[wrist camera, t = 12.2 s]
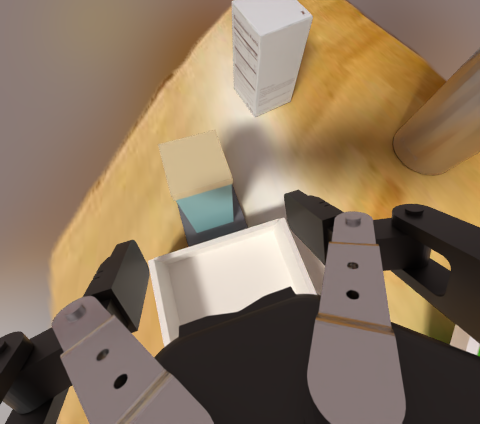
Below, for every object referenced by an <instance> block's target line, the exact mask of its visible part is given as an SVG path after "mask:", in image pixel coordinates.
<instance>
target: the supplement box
mask: <svg viewBox="0 0 480 424" xmlns="http://www.w3.org/2000/svg"><path fill="white" fill-rule="evenodd" d="M312 19H313V16H312V15H311V14H310V13H309V12H308V11H307V10H306V9H305V8H304V7H303V6H302V5H301V4H300V3H299V2H298V1H297V0H234V1H232V31H233V74H234V89H235V91H236V92H237V94H238V95H239V97H240V98H241V99H242V101H243V102H244V103H245V105H246V106H247V108H248V109H249V110H250V112H251V113H252V114H253V116H254V117H257V116H259V115H261V114H264V113H266V112H268V111H270V110H273V109H275V108H277V107H279V106H281V105H284V104H286V103H288V102H290V101H291V98H292V94H293V90H294V87H295V83H296V79H297V75H298V72H299V68H300V64H301V60H302V57H303V53H304V49H305V45H306V41H307V38H308V34H309V30H310V27H311V23H312Z"/></svg>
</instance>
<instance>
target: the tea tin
mask: <svg viewBox="0 0 480 424" xmlns="http://www.w3.org/2000/svg"><path fill="white" fill-rule="evenodd" d="M158 146H159V150H160V154H161V158H162V162H163V166H164V170H165V174H166V178H167V182H168V186H169V190H170V194H171V197H172V198H173V200H174V201H176V202H177V203H178V205H179V206H180V208H181V209H182V211H183V212H184V214H185V215H186V217H187V219H188V220H189V222H190V223H191V225H192V226H193V228H194V229H195V231H196V232H197V233H199V232H202V231H205V230H209V229H212V228H215V227H218V226H221V225H225V224H228V223H231V222H234V221H233V202H232V184H233V177H232V175H231V172H230V169H229V166H228V164H227V161H226V158H225V155H224V153H223V150H222V147H221V144H220V142H219V139H218V136H217V133H216V131H215V130H212V131H208V132H204V133H201V134H197V135H193V136H189V137H185V138H181V139H177V140H174V141H170V142H166V143H162V144H158Z"/></svg>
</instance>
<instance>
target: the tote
mask: <svg viewBox="0 0 480 424" xmlns="http://www.w3.org/2000/svg"><path fill="white" fill-rule="evenodd" d="M148 263H149V269H150V274H151V279H152V284H153V290H154V295H155V300H156V305H157V311H158V316H159V321H160V326H161V332H162V337H163V342H164V347H165V346H166V345H168V344H169V343H170V342H172V341H173V340H174V339H176V338H177V337H179V326H180V325H183V324H186V323H189V322H192V321H194V320H197V319H200V318H203V317H206V316H210V315H218V314H225V313H233V312H238V311H240V310H242V309H244V308H245V307H247V306H248V305H250V304H252V303H253V302H255V301H257V300H258V299H260V298H261V297H263V296H265V295H268V294H270V293H273V292H276V291H279V290H282V289H284V288H287V287H290V286H291V287H292V289H293V291H294V292H295V294H315V295H317V294H316V291H315V289H314V286H313V284H312V282H311V279H310V277H309V275H308V272H307V270H306V267H305V265H304V263H303V260H302V258H301V256H300V253H299V251H298V249H297V246H296V244H295V241H294V239H293V237H292V234H291V232H290V230H289V227H288V225H287V222H286V220H285V218H281V219H279V218H278V219H275V220H272V221H269V222H266V223H263V224H260V225H256V226H253V227H250V228H247V229H244V230H241V231H238V232H234V233H231V234H228V235H225V236H222V237H219V238H216V239H212V240H209V241H206V242H203V243H200V244H197V245H194V246H191V247H187V248H184V249H181V250H178V251H175V252H172V253H169V254H165V255H162V256H159V257H156V258H154V259H152V260H149V261H148Z"/></svg>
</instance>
